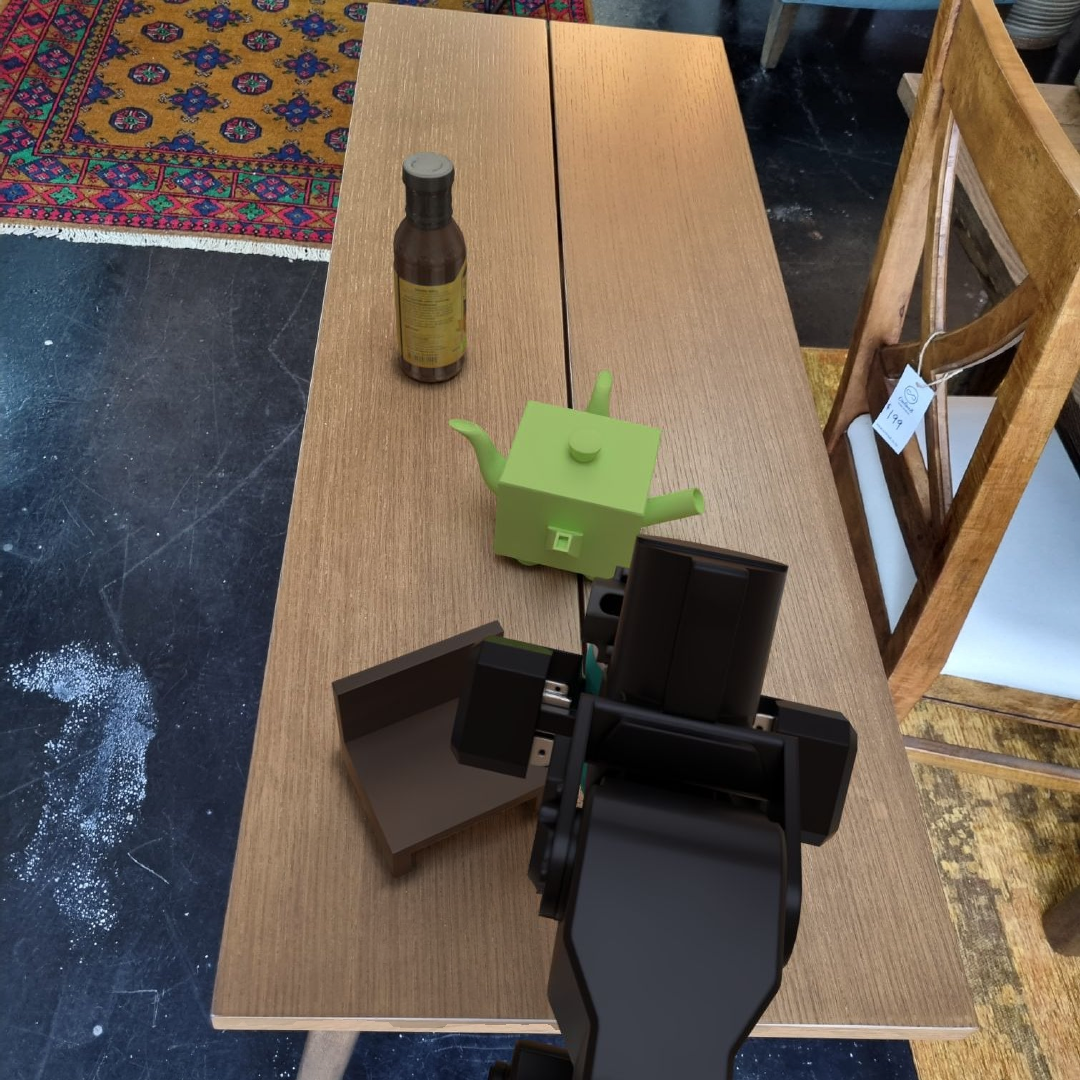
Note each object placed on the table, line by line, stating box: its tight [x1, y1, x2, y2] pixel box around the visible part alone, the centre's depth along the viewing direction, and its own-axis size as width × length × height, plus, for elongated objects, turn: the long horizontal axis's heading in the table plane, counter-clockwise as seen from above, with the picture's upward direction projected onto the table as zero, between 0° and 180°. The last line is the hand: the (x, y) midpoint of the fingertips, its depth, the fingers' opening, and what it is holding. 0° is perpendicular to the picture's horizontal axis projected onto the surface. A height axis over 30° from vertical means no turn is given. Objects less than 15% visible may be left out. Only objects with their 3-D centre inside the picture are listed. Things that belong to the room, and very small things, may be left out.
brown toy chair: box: [331, 619, 548, 879], centre depth 63 cm, size 9×11×10 cm
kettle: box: [448, 369, 706, 582], centre depth 76 cm, size 15×14×11 cm
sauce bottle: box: [392, 151, 468, 383], centre depth 85 cm, size 6×6×20 cm
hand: (646, 698), depth 56 cm, fingers closed on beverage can, 6 cm apart
